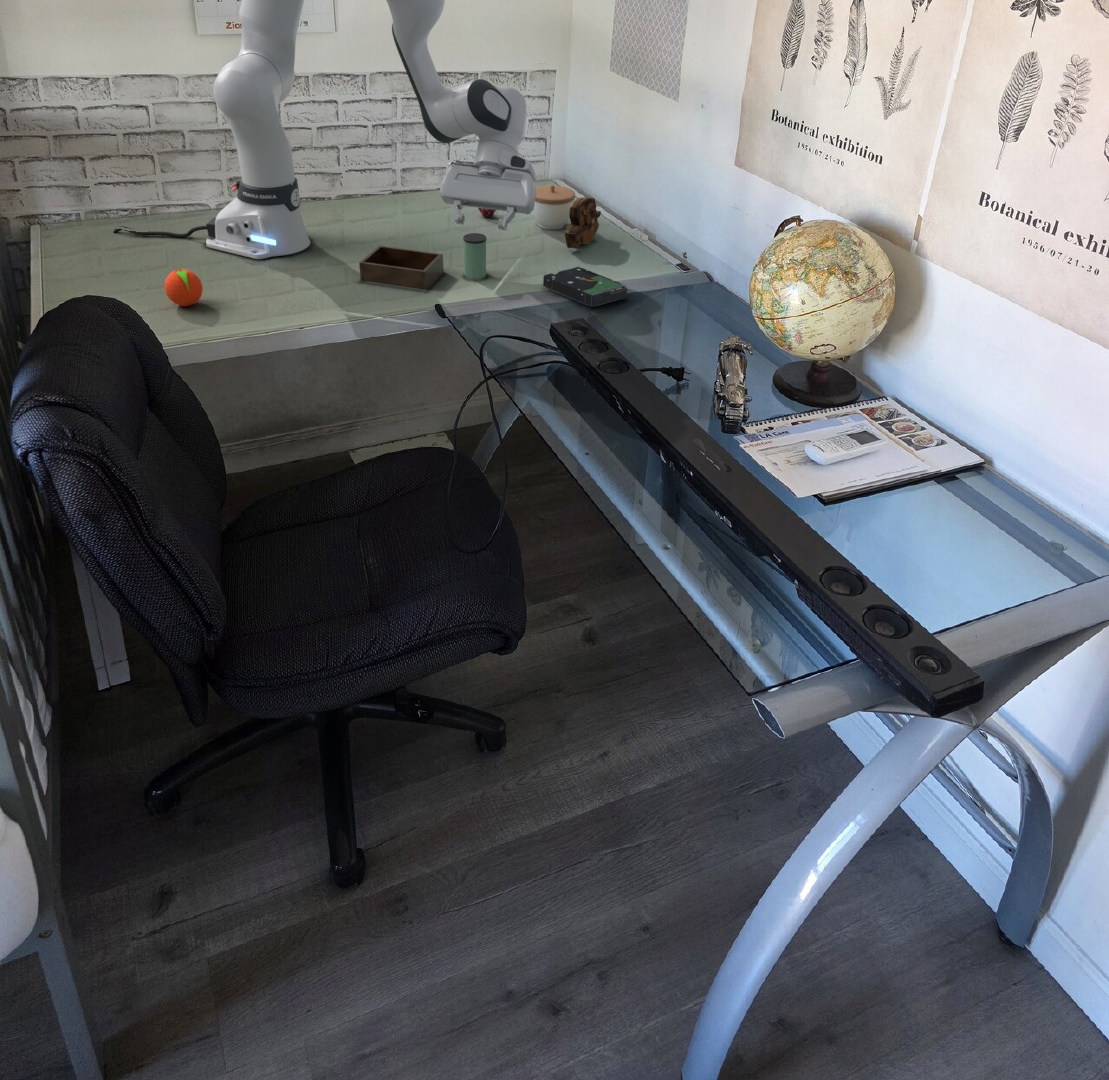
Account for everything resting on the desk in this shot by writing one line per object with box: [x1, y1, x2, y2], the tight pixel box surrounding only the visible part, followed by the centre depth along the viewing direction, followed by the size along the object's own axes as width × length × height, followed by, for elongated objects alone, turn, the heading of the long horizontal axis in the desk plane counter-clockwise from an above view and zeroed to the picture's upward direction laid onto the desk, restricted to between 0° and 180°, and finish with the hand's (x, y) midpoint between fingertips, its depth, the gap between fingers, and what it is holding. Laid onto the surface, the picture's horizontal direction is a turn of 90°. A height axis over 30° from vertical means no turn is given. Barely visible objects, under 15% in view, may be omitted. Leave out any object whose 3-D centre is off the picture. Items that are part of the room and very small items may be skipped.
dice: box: [477, 207, 497, 218], centre depth 239 cm, size 4×4×4 cm
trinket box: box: [530, 184, 576, 230], centre depth 234 cm, size 11×11×9 cm
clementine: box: [164, 268, 203, 307], centre depth 192 cm, size 8×7×7 cm
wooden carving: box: [563, 196, 602, 249], centre depth 225 cm, size 16×5×10 cm, turn 161°
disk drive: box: [542, 266, 628, 308], centre depth 204 cm, size 10×3×15 cm
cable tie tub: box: [462, 232, 487, 280], centre depth 208 cm, size 5×5×8 cm
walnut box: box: [358, 244, 444, 291], centre depth 207 cm, size 14×10×4 cm
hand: (480, 226), depth 208 cm, fingers open, 8 cm apart
